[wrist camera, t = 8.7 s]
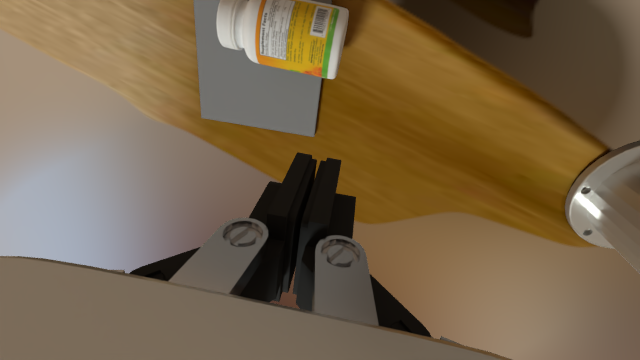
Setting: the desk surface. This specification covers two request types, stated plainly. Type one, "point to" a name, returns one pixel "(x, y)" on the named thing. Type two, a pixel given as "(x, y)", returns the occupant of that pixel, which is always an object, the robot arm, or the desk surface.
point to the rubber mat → (250, 84)
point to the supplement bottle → (285, 33)
